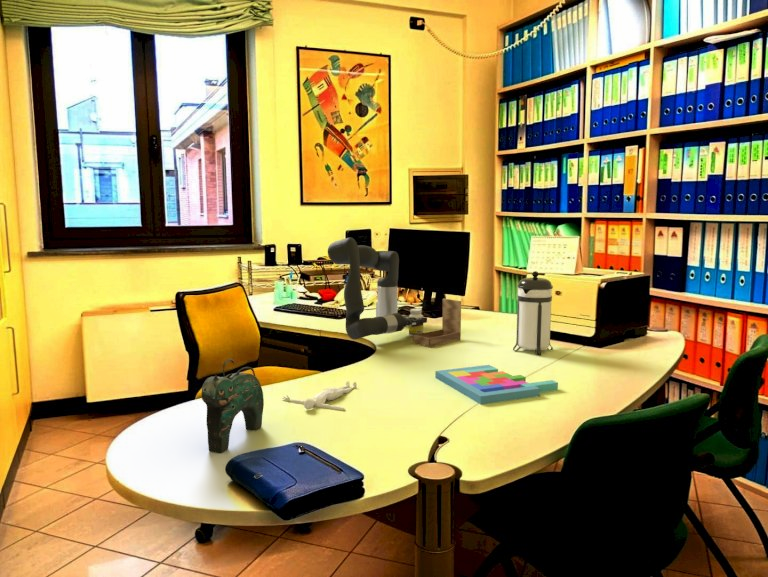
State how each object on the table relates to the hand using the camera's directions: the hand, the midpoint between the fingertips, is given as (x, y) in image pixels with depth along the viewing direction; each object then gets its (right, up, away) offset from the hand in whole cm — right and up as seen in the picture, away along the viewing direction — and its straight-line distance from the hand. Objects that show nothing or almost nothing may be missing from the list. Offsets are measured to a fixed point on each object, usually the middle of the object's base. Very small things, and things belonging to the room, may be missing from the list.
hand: (419, 318), depth 260 cm
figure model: (-31, -20, -82) cm, 90 cm away
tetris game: (+20, -18, -70) cm, 75 cm away
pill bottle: (-1, -7, 0) cm, 7 cm away
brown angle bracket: (+6, -9, -12) cm, 16 cm away
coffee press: (+42, -11, -26) cm, 50 cm away
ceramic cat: (-50, -23, -113) cm, 126 cm away
